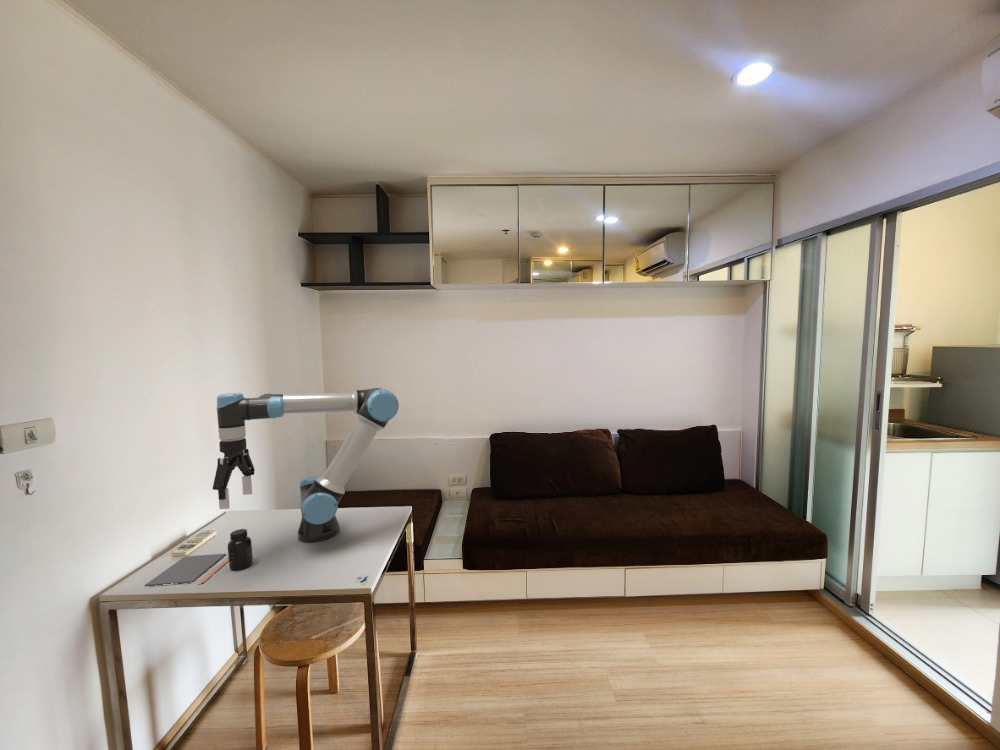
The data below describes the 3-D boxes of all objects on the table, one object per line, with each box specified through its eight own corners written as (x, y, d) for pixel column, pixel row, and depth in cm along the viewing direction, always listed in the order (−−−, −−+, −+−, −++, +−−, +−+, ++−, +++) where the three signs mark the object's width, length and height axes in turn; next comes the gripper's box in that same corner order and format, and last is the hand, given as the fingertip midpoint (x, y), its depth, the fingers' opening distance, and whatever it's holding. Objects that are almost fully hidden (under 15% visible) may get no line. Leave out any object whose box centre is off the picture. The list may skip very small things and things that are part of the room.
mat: (226, 555, 144) (225, 553, 144) (192, 583, 126) (192, 581, 126) (184, 558, 143) (184, 556, 143) (144, 586, 125) (144, 584, 125)
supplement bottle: (245, 559, 141) (243, 526, 140) (257, 563, 138) (255, 529, 137) (224, 568, 135) (222, 534, 134) (236, 573, 132) (234, 537, 131)
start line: (238, 553, 146) (238, 551, 146) (202, 584, 126) (202, 582, 126) (234, 553, 145) (234, 552, 145) (197, 584, 126) (197, 583, 126)
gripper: (241, 432, 146) (245, 489, 147) (195, 448, 121) (200, 516, 122) (263, 431, 147) (266, 488, 148) (221, 446, 122) (226, 514, 123)
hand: (236, 501), depth 135 cm, fingers open, 13 cm apart
